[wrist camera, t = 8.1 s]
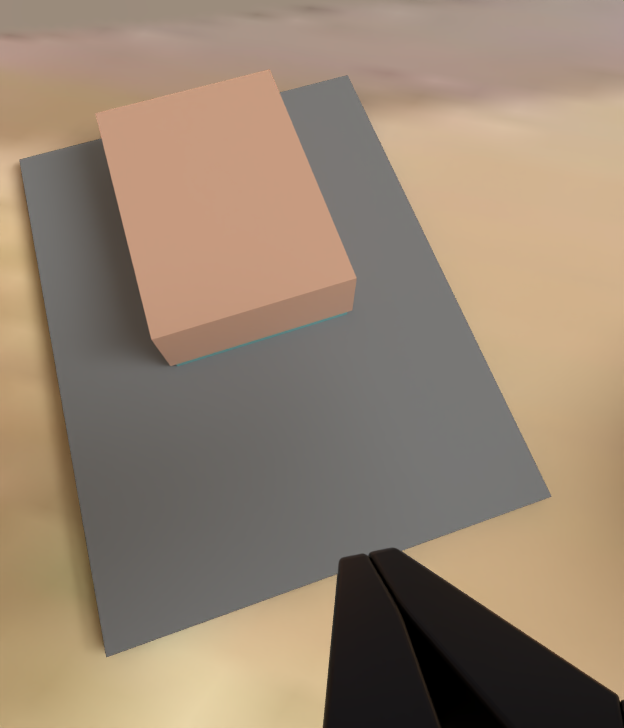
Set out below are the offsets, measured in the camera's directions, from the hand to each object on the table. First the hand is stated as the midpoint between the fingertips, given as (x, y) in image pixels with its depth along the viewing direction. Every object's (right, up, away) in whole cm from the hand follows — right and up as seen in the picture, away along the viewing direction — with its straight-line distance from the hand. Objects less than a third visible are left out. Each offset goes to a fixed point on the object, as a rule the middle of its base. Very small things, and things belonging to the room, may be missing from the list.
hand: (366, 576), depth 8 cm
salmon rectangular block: (-3, +4, +11) cm, 12 cm away
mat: (-3, +5, +13) cm, 15 cm away
